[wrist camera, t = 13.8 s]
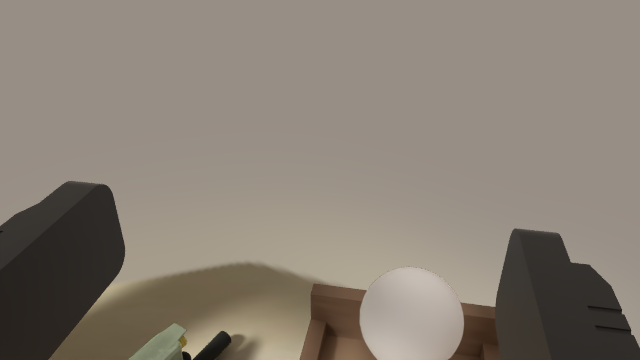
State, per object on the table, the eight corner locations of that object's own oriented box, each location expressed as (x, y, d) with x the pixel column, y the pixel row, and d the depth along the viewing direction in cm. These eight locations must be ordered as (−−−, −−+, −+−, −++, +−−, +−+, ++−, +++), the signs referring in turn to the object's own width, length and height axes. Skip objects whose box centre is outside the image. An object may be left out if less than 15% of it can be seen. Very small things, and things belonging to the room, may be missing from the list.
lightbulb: (463, 437, 32) (491, 309, 27) (370, 456, 31) (379, 327, 26) (426, 361, 37) (443, 240, 32) (346, 375, 36) (349, 253, 31)
